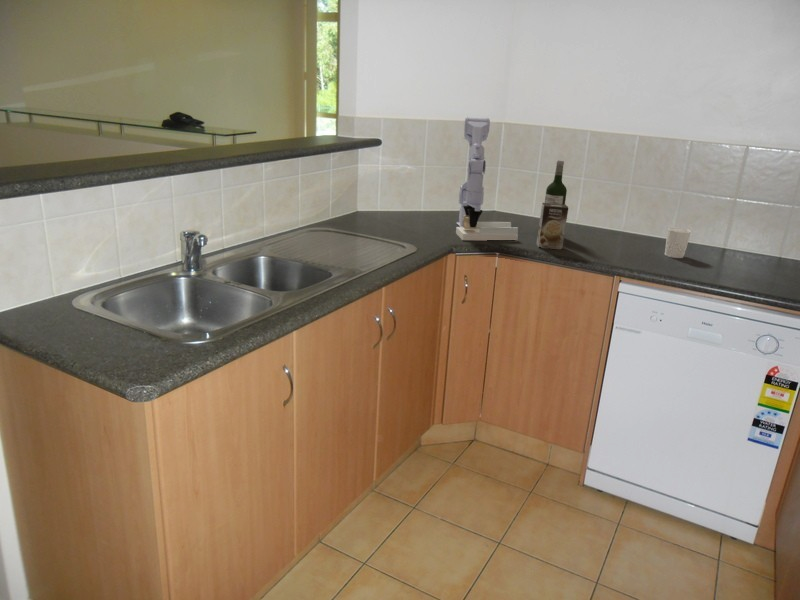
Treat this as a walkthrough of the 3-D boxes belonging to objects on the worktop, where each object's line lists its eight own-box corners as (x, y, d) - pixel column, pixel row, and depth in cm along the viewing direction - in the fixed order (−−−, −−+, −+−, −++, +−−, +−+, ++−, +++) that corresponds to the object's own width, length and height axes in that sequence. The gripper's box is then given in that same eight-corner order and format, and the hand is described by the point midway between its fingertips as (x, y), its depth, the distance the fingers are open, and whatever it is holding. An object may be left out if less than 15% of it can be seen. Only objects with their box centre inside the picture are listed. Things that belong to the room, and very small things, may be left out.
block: (462, 226, 250) (463, 215, 249) (473, 226, 251) (474, 215, 249) (465, 229, 246) (466, 217, 245) (476, 229, 247) (477, 217, 245)
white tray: (455, 233, 254) (456, 220, 252) (508, 233, 258) (510, 221, 256) (462, 240, 244) (463, 227, 242) (517, 240, 247) (518, 228, 246)
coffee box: (537, 248, 239) (543, 205, 233) (536, 243, 245) (541, 202, 239) (562, 249, 238) (568, 207, 233) (560, 245, 244) (566, 204, 239)
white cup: (658, 253, 240) (663, 227, 237) (674, 252, 243) (679, 226, 240) (673, 259, 234) (678, 232, 230) (690, 258, 236) (695, 232, 233)
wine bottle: (540, 236, 256) (550, 161, 245) (540, 232, 263) (550, 158, 253) (560, 238, 254) (571, 163, 244) (560, 234, 261) (570, 160, 251)
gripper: (459, 187, 250) (456, 221, 254) (468, 194, 236) (465, 229, 241) (477, 187, 251) (474, 221, 255) (487, 194, 237) (483, 230, 242)
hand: (471, 225), depth 248 cm, fingers closed on block, 4 cm apart
